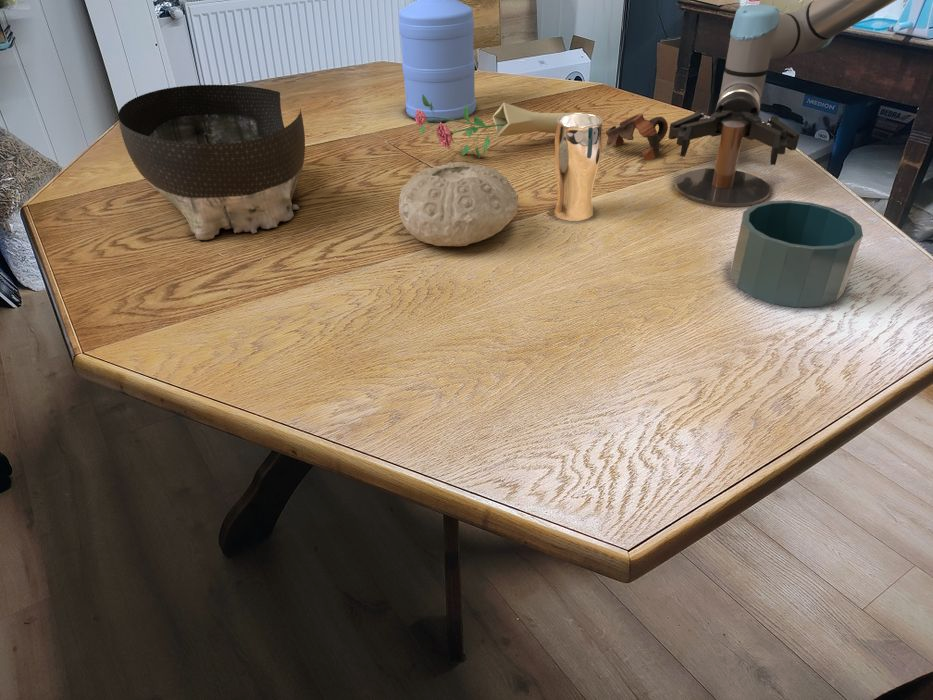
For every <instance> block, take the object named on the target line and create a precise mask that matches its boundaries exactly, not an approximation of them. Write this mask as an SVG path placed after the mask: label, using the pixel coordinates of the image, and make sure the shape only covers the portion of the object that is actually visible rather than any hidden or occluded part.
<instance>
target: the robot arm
mask: <svg viewBox="0 0 933 700" xmlns="http://www.w3.org/2000/svg"><path fill="white" fill-rule="evenodd" d="M895 2H897V0H812V1H811V2H809V3H807V4H805V5H804V6H803V7H801V8H800V9H798V10H795V11H791V12H785V13H780V12H781V11H780V9H779V7H777V6H775V5H772V4H771V5H770V4H763V3H762V4H760V3H758V4H745V5H742V6H741V7H739V8H738V9H737V10H736V12H735V15H734V19H733V22H732V27H731V29H730V33H729V35H730V38H729V43H728V49H727V54H726V60H725V66H724V70H723V75H722V82H721V87H720V93H719V96H718V99H717V103H716V106H715V111H714V113H712V114H711V115H705V113H704V111H703V110H699V109H698V110H696V111H694V113H692V114H690V115H688V116H685V117H682V118H680V119H678V120H676V121H673V122H670V123H669V129H668V139H669V140H676V145H677V146H680V147H681V148H680V155H679V156H680V157H686V155H687V152H688V149H689V146H690V144H691V141H692V140H695V139H699V138H704V137H707V136H710V137H712V138H713V137H718V136H721V134H722V128H723V123H724V122H727V121H738V122H742V123H744V124H745V128H744V133H743V137H742V138H745V139H747V140H749V141H753V140H756V141H757V142H760V143H762V144H765V145H766V146H769V147H770V148H771V151H770V161H769V164H770V166H776V164H777V159H778V155H784V154H786V150H790V151H796V150H797V148H798V147H797V146H798V144H799V139H800V133H799V132H798V131H796V130H794V129H792V128H791V127H789V126H788V125H787V124H785V123H784V122H782V121H780V118H779V116H777V115H773V116H771V117H770V118H768V119H767V120H762V118H761V117H760V111H761V102H762V98H763V94H764V88H765V83H766V79H767V78H766V77H767V74H768V69H769V66H770V61H771V60H775V59H781V58H785V57H791V56H796V55H801V54H804V55H805V54H811V53H814V52H816V51H819V50H822V49H825V48H827V46H829V45H830V44H831V43H832V41H833V40H834V38H836V37H835V36H837V35H839V34H840V33H842V32H844V31H846V30H848V29H849V28H851V27H853V26H855V25H857V24H858V23H859V22H861V21H864V20H865V19H867V18H868V17H870V16H872V15H874V14H875V13H877V12H879V11H881V10H883V9H884V8H886V7H887V6H890V5H891V4H893V3H895Z"/></svg>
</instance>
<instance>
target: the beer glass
mask: <svg viewBox="0 0 933 700" xmlns="http://www.w3.org/2000/svg"><path fill="white" fill-rule="evenodd" d="M569 113H570V114H565V115H562V116H560V117H558V119H557V126H556V134H555V133H554V145H553V161H554V170H555V178H556V184H557V199H556V204H555V208H554V211H553V212H554V216H555V217H556V218H558V219H560V220H561V219H562V220H566V221H571V222H573V221H574V222H577V221H584V220H588V219H590V218H591V217H593V214H594V210H593V209H594V208H593V191H594V185H595V182H596V179H597V175H598V171H599V168H600V163H601V157H602V149H603V119H602V117H600V116H599V115H598V114H597V115H596V114H593V113H588V112H584V113H574V112H569Z"/></svg>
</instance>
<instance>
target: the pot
mask: <svg viewBox="0 0 933 700" xmlns="http://www.w3.org/2000/svg"><path fill="white" fill-rule="evenodd" d="M863 233H864V232H863V227H862V225H861V224H860V223H859V222H858V221H856V219H854V218H853V216H851V215H849V214H847V213H844V212H842V211H840V210H838V209H835V208H834V207H830V206H826V205H822V204H818V203H814V202H808V201H801V200H800V201H799V200H789V199H787V200H786V199H785V200H769V201H763V202H760V203H757V204H754V205H750V206H749V207H748V208H747V209H745V210H744V211H743V212H742V216H741V220H740V225H739V229H738V234H737V238H736V243H735V247H734V252H733V255H732V261H731V265H730V272H729V278H730V280H731V281H732V283H733V284H734V285H735V286H736V288H738V289H739V290H740V291H742V292H743V293H744V294H746V295H748V296H749V297H751V298H754V299H755V300H759V301H761V302H764V303H766V304H770V305H775V306H779V307H784V308H785V307H786V308H791V309H792V308H794V309H813V308H820V307H824V306H827V305H830V304H833V303H835V302H836V301H838V300H839V299H840V298H841V296H842V295H843V294H844V293H845V289H846V287H847V284H848V282H849V278H850V275H851V273H852V269H853V266H854V263H855V260H856V257H857V255H858V252H859V248H860V245H861V243H862V239H863V237H864V234H863Z"/></svg>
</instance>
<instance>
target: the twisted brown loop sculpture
mask: <svg viewBox="0 0 933 700" xmlns="http://www.w3.org/2000/svg"><path fill="white" fill-rule="evenodd" d="M657 125H658V131H657V128H656V127H657ZM668 128H669V124H668V121H667V120H666V118H665V117H663V116H655V117H653V118H651V119H649V120H648V119H645V117H644V115H643V113H638V114H635V115H632V116H631V117H628V118H627V119H625V120H622V121H621V122H620V123H619V126H616V125H613V126H612V127H610V128H609V129H608V130H606V131H605V134H606V135H607V141H606V146H611V145H613V146H614V147H617V146H622V145H624V143H625V140H627V141H633V140H634V132H635V130H637V131H638V132H639V133H638V134H640V135H641V136H642V138H645V139H647V141H648V145H649V147H648V148H647V149H645V150H643V151H642V152H641V154H642V156H643V158H644V161H646V162H647V161H651V160H652V161H653V160H656V159H657V158H659V157H660V156H661V149H660V143H661V141H662V140H663V139H664V138H665V137H666V135H667V132H668V131H669V129H668Z"/></svg>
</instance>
